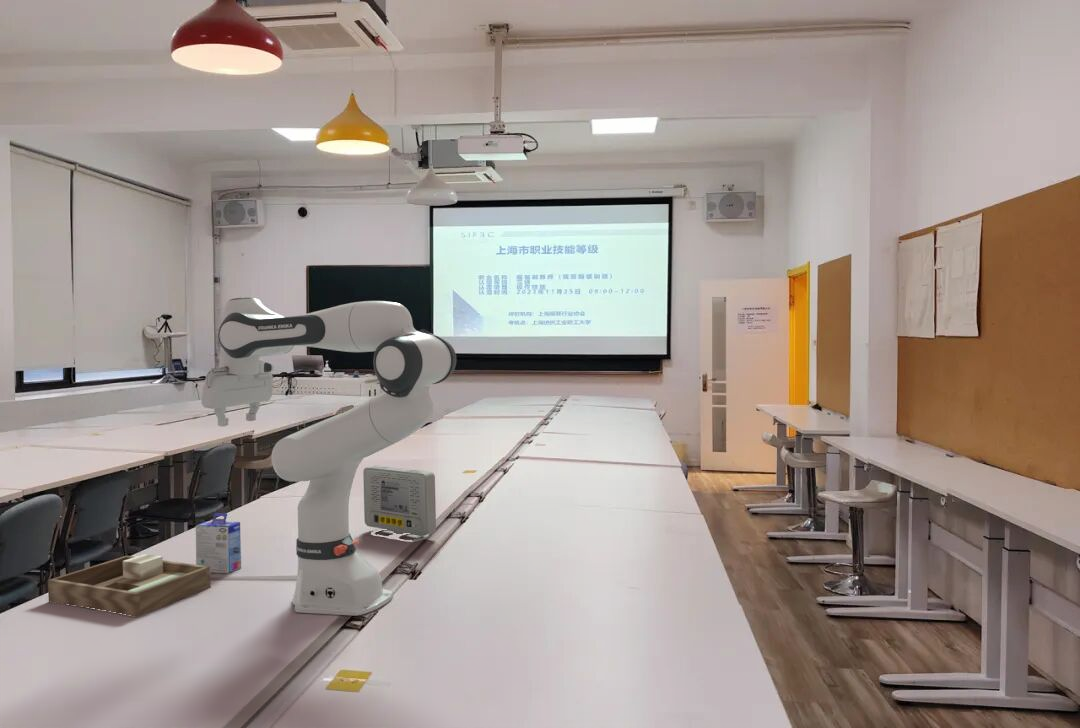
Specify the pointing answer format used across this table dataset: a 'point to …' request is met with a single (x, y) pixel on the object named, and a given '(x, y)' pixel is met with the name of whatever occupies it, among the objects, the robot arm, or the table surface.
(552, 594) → the table surface
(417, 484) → the network device
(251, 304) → the robot arm
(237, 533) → the ink cartridge box
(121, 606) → the box
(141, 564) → the block
